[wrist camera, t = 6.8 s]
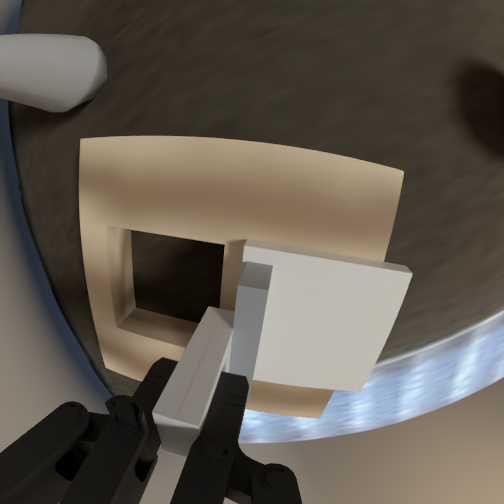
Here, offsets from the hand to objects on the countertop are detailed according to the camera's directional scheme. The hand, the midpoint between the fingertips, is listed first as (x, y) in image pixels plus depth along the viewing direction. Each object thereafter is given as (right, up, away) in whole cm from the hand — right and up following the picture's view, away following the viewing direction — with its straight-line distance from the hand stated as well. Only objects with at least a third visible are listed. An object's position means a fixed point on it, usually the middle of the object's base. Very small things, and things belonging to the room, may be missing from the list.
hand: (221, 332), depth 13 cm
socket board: (-1, +2, +5) cm, 5 cm away
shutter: (+5, 0, +2) cm, 5 cm away
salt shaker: (-11, +17, +1) cm, 20 cm away
